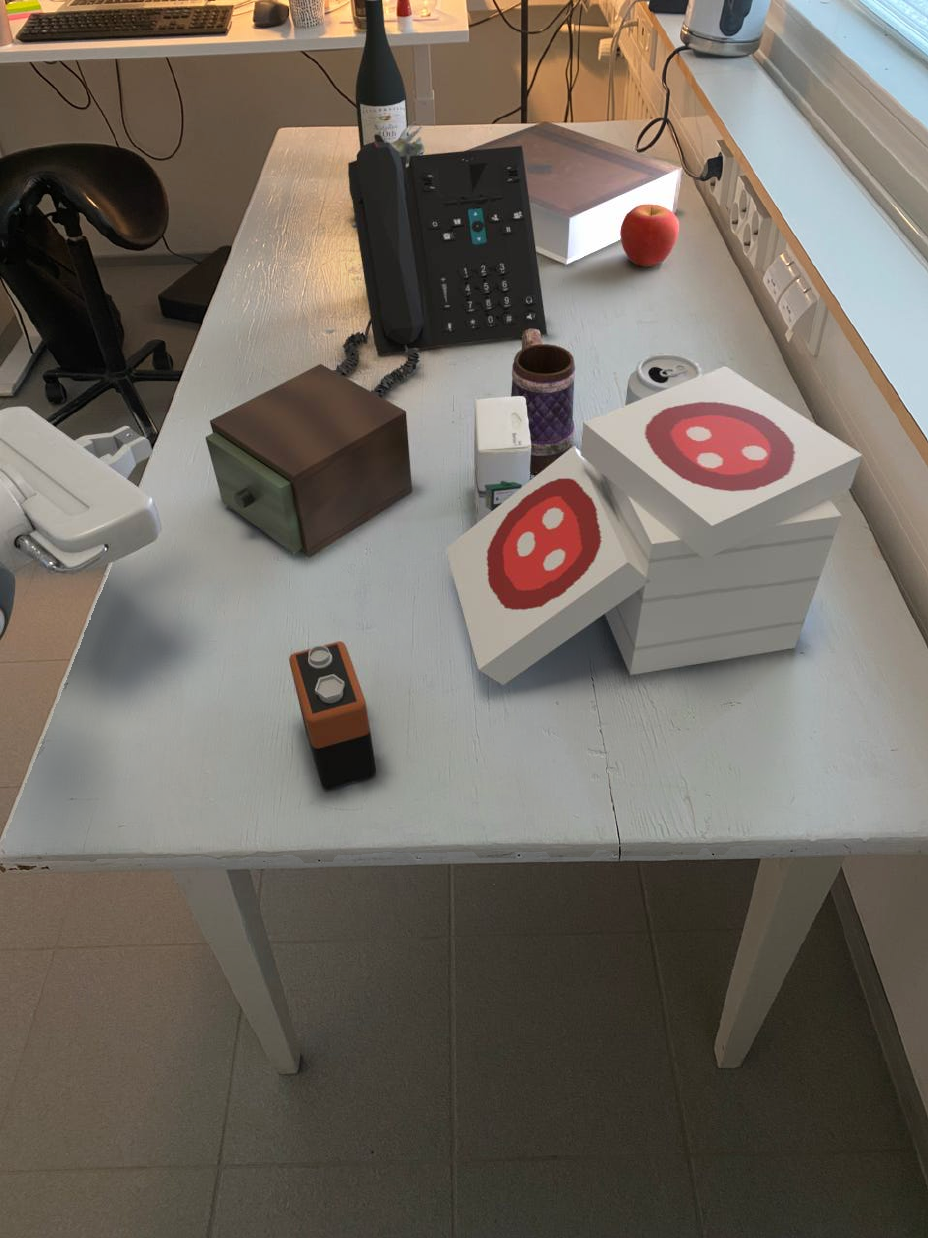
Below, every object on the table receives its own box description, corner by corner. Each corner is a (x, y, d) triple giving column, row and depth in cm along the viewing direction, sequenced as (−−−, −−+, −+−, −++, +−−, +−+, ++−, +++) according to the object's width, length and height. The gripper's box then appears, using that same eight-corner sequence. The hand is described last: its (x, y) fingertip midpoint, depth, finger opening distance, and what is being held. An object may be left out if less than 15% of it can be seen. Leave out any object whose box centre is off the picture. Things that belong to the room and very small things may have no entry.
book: (543, 162, 156) (545, 120, 152) (676, 212, 142) (682, 167, 137) (434, 206, 145) (433, 162, 141) (566, 264, 131) (569, 217, 126)
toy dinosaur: (361, 254, 134) (353, 173, 126) (311, 243, 137) (300, 164, 129) (430, 196, 148) (427, 120, 140) (384, 188, 150) (378, 113, 142)
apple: (681, 271, 129) (689, 215, 123) (625, 276, 128) (631, 219, 122) (665, 247, 134) (672, 191, 128) (611, 251, 133) (616, 196, 128)
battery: (323, 794, 71) (304, 713, 64) (304, 726, 76) (284, 644, 68) (378, 777, 72) (366, 696, 65) (356, 712, 76) (342, 629, 69)
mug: (578, 472, 98) (587, 371, 89) (512, 478, 97) (514, 377, 89) (559, 417, 105) (565, 318, 96) (497, 423, 104) (497, 324, 96)
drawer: (283, 560, 88) (269, 494, 82) (212, 507, 94) (194, 442, 88) (390, 492, 95) (384, 427, 89) (317, 447, 100) (307, 383, 95)
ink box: (473, 493, 96) (472, 394, 87) (522, 491, 96) (525, 392, 87) (477, 549, 90) (476, 448, 81) (529, 547, 90) (533, 446, 81)
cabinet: (309, 558, 90) (293, 476, 82) (230, 500, 96) (209, 420, 89) (412, 491, 96) (406, 411, 89) (332, 442, 103) (320, 363, 95)
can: (610, 450, 100) (622, 350, 92) (678, 444, 101) (696, 345, 92) (626, 493, 95) (640, 392, 87) (698, 487, 96) (719, 386, 87)
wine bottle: (413, 179, 153) (401, -41, 131) (365, 184, 152) (345, -37, 130) (406, 161, 158) (393, -53, 137) (360, 165, 157) (339, -50, 136)
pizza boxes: (443, 565, 88) (435, 402, 75) (742, 521, 92) (783, 358, 79) (485, 723, 75) (483, 559, 62) (831, 664, 79) (898, 497, 66)
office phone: (324, 417, 106) (298, 242, 91) (302, 299, 125) (278, 140, 111) (572, 383, 110) (585, 211, 95) (514, 274, 129) (517, 117, 114)
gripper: (42, 548, 64) (207, 457, 71) (-91, 434, 74) (65, 363, 80) (72, 613, 68) (224, 521, 75) (-58, 497, 78) (87, 425, 85)
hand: (141, 439), depth 78 cm, fingers closed
